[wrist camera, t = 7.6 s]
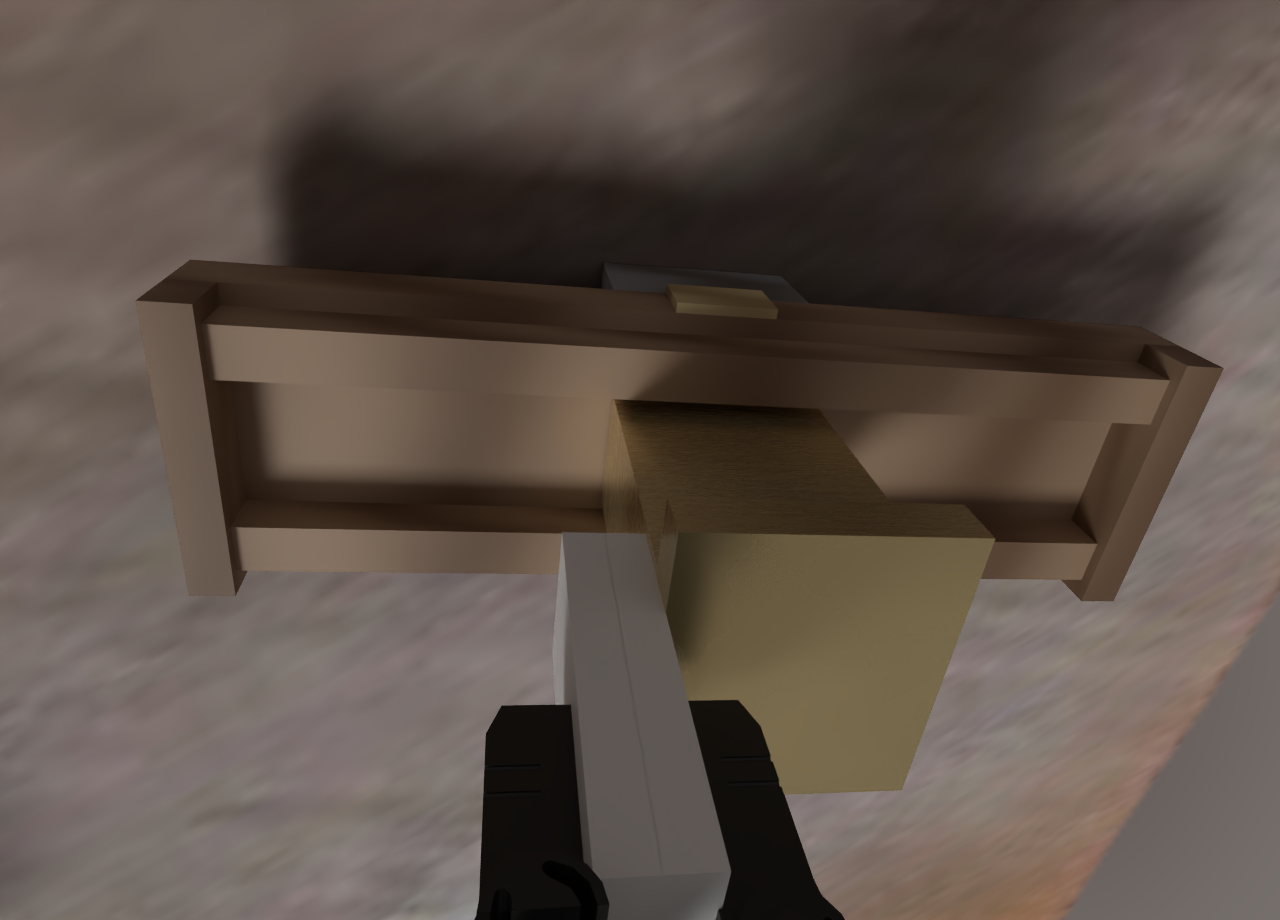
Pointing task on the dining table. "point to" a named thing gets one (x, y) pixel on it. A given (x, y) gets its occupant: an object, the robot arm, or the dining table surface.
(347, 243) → the dining table surface
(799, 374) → the brown long rectangular frame
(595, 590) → the robot arm
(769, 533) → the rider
